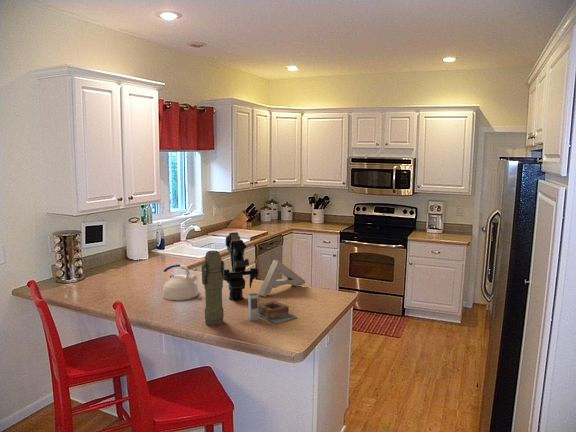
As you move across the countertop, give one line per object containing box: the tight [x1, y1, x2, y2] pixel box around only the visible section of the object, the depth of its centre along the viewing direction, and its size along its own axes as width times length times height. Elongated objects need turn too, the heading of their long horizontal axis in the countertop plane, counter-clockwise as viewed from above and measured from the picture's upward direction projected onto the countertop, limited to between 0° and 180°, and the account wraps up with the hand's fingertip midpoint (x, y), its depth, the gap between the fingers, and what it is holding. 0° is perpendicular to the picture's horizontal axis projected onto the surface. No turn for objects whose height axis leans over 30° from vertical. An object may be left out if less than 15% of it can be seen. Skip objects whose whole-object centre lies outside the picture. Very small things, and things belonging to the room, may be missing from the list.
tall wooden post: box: [247, 292, 259, 322], centre depth 222 cm, size 4×4×12 cm
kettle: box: [162, 263, 199, 301], centre depth 260 cm, size 20×21×18 cm
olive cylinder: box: [201, 250, 225, 327], centre depth 216 cm, size 9×12×35 cm
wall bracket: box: [257, 259, 306, 298], centre depth 270 cm, size 22×4×30 cm
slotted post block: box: [258, 300, 298, 325], centre depth 228 cm, size 22×13×5 cm, turn 40°
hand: (241, 288), depth 227 cm, fingers open, 9 cm apart
